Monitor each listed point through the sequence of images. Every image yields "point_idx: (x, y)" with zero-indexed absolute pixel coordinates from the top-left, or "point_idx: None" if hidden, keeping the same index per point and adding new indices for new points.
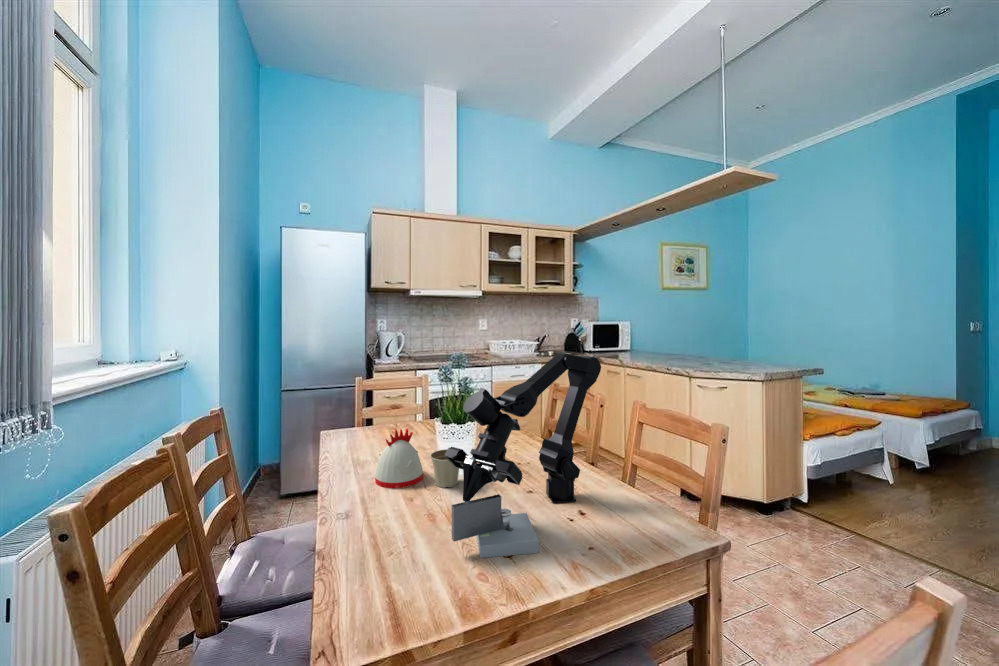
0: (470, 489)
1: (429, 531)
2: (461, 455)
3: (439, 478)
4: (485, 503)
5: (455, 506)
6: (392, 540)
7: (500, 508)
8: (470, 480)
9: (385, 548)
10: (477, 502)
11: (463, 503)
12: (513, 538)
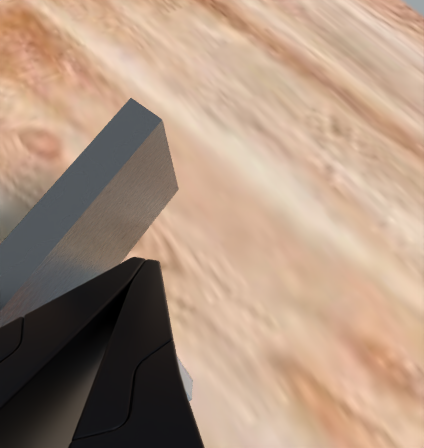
0: (71, 291)
1: (323, 276)
2: None
3: None
4: None
5: (126, 113)
6: (385, 180)
7: None
8: (47, 349)
9: (369, 140)
10: (11, 236)
11: (96, 170)
12: None
